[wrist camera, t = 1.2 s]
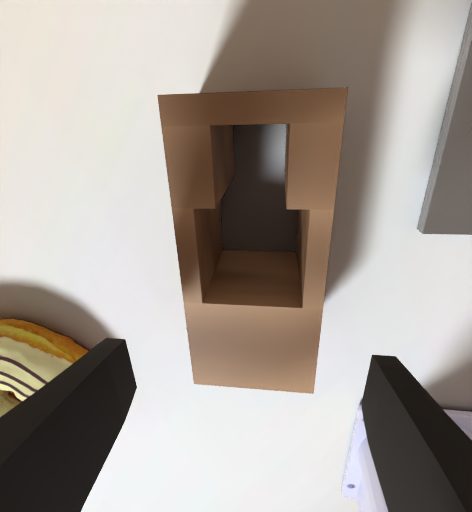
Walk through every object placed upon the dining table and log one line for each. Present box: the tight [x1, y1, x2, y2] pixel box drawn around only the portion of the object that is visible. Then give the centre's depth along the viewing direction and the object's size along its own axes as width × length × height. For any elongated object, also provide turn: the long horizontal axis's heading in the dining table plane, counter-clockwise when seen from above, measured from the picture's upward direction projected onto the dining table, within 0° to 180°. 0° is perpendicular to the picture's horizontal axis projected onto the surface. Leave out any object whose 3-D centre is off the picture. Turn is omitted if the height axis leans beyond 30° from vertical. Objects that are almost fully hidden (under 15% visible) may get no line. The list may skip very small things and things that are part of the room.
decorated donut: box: [0, 318, 88, 417], centre depth 20 cm, size 10×11×4 cm
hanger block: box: [158, 88, 348, 394], centre depth 13 cm, size 11×5×5 cm, turn 2°
